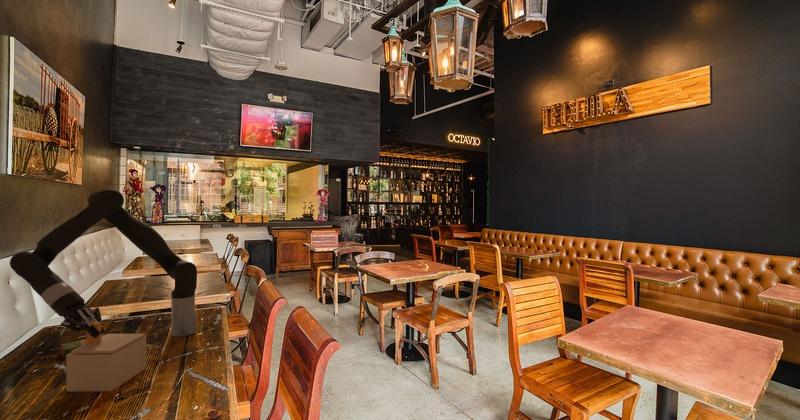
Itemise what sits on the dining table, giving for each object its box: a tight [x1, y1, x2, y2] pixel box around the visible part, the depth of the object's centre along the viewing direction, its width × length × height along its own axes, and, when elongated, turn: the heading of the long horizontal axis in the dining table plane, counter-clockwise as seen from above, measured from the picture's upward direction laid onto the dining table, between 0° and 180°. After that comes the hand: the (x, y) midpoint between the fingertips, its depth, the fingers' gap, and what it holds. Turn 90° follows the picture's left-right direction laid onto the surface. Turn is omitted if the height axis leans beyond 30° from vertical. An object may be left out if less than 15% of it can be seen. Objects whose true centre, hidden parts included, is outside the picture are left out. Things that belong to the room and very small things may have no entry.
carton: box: [59, 333, 108, 360], centre depth 144 cm, size 8×16×4 cm, turn 139°
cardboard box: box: [65, 335, 147, 393], centre depth 121 cm, size 14×16×12 cm
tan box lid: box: [71, 321, 146, 354], centre depth 121 cm, size 14×15×7 cm
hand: (100, 334), depth 121 cm, fingers closed
